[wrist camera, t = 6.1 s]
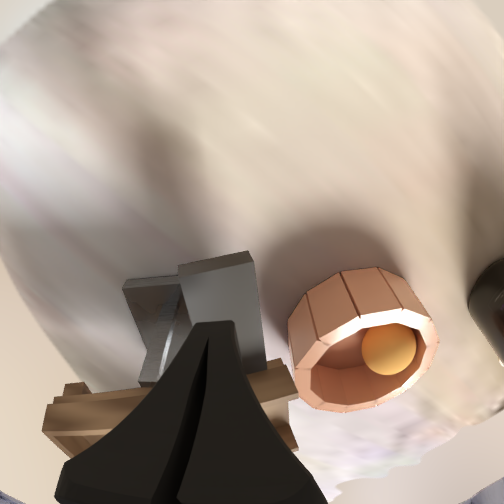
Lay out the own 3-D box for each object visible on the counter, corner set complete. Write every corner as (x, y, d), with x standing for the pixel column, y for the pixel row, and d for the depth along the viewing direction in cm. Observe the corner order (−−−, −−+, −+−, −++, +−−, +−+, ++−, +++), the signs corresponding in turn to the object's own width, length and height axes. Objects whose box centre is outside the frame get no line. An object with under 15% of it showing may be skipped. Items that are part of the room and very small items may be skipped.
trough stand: (172, 389, 26) (159, 461, 19) (126, 280, 20) (85, 360, 13) (238, 387, 26) (237, 463, 19) (212, 271, 20) (197, 360, 13)
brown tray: (100, 432, 19) (98, 481, 15) (4, 289, 13) (-29, 344, 9) (278, 400, 21) (298, 450, 17) (261, 232, 15) (295, 282, 11)
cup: (364, 377, 25) (377, 416, 21) (265, 353, 23) (268, 400, 19) (435, 293, 21) (462, 330, 17) (333, 247, 19) (353, 289, 15)
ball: (396, 390, 19) (357, 363, 22) (428, 347, 20) (388, 323, 23) (388, 377, 17) (343, 345, 20) (425, 326, 17) (379, 299, 20)
